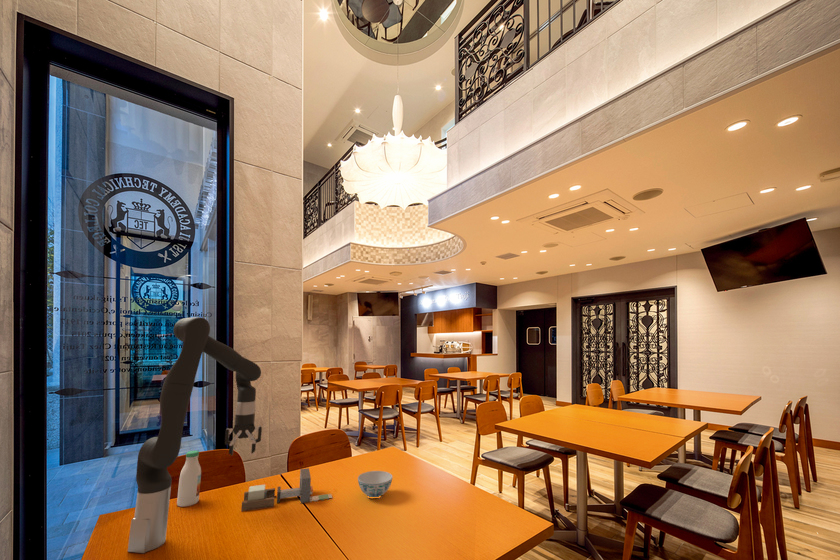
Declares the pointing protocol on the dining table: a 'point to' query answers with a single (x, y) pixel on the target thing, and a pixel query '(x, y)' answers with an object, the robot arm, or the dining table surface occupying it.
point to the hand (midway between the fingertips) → (242, 453)
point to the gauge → (269, 502)
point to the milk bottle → (189, 480)
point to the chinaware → (375, 482)
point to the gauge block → (257, 492)
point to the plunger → (289, 493)
